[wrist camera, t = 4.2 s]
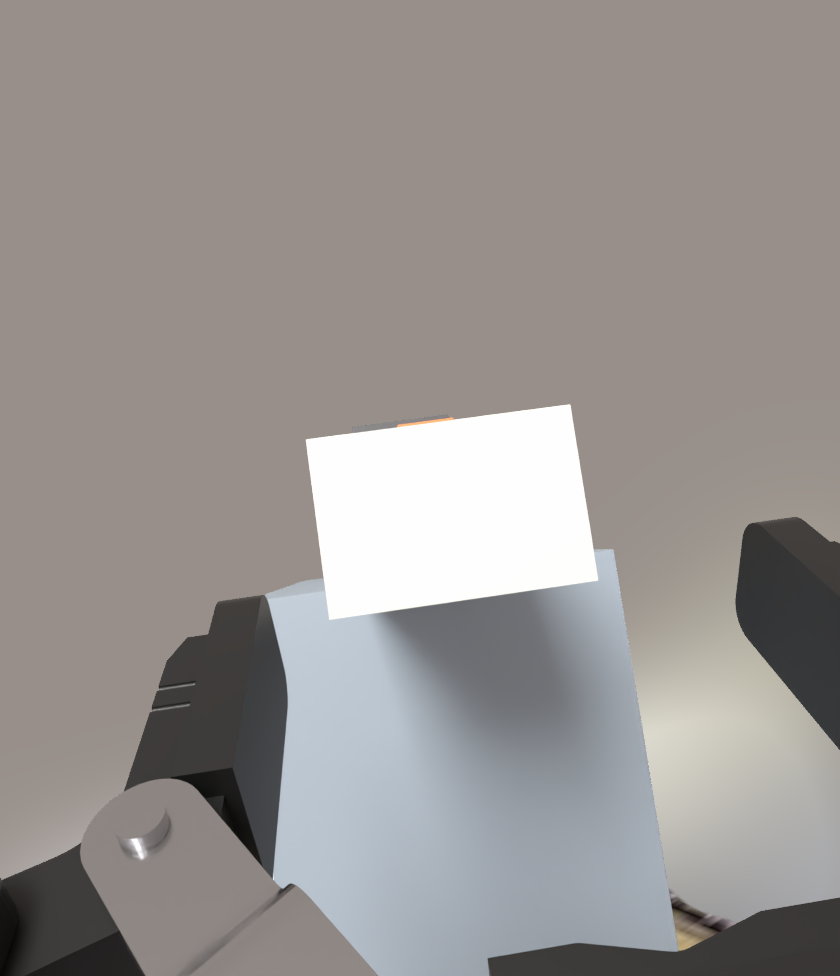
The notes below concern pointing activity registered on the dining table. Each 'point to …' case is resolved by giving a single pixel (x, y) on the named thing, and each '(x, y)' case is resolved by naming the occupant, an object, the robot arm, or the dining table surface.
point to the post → (469, 777)
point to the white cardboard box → (449, 510)
